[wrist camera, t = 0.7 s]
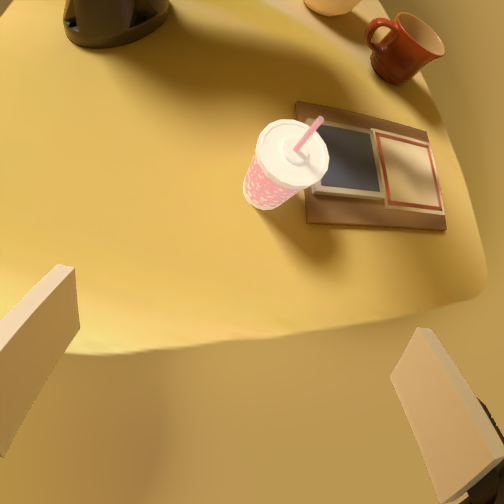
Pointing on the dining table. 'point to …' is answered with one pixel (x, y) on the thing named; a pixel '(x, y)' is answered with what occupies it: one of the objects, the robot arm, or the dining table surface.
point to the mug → (403, 47)
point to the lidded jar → (331, 6)
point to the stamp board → (373, 173)
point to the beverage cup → (285, 162)
